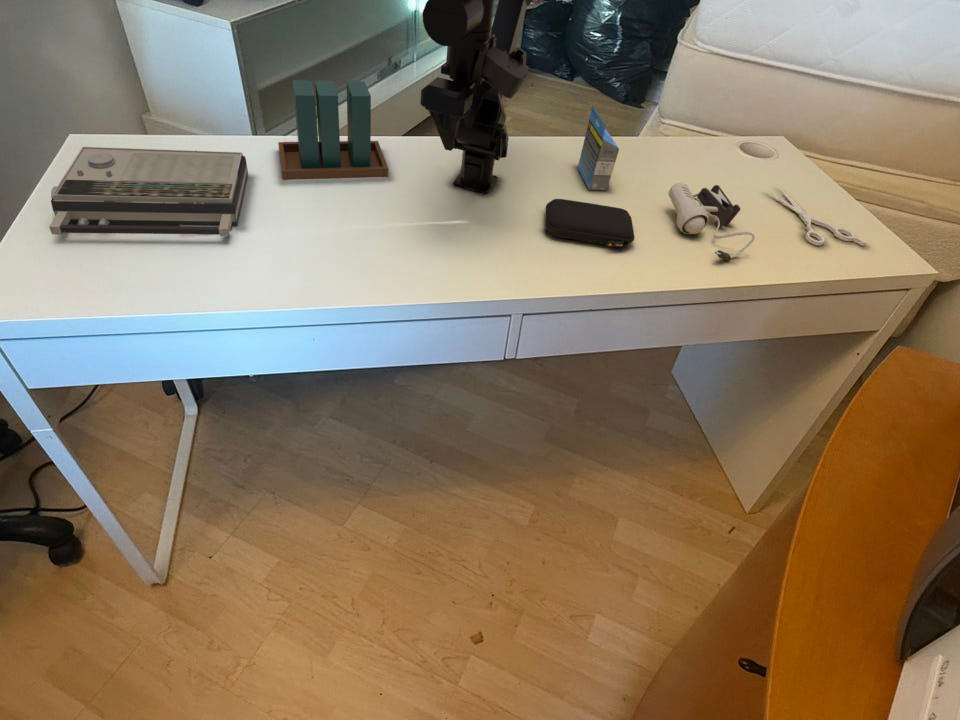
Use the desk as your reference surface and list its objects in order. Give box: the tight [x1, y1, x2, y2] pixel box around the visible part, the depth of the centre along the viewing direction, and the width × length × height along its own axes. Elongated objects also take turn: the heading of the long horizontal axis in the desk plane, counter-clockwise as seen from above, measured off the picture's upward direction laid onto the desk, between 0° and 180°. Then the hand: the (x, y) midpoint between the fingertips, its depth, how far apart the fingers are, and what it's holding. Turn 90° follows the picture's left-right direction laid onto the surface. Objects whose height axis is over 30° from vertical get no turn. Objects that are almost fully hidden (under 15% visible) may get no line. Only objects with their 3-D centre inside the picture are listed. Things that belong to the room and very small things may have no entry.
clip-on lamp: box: [668, 182, 756, 262], centre depth 105 cm, size 12×6×18 cm
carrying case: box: [544, 198, 635, 248], centre depth 102 cm, size 11×3×15 cm
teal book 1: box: [292, 79, 320, 169], centre depth 102 cm, size 3×6×13 cm, turn 16°
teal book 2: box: [314, 80, 341, 168], centre depth 103 cm, size 3×6×13 cm, turn 16°
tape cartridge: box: [577, 104, 620, 192], centre depth 112 cm, size 9×4×12 cm, turn 8°
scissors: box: [766, 188, 867, 247], centre depth 115 cm, size 11×1×20 cm
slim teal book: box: [346, 80, 372, 167], centre depth 105 cm, size 3×6×13 cm, turn 17°
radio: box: [48, 146, 249, 237], centre depth 91 cm, size 24×5×20 cm
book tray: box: [277, 140, 389, 181], centre depth 108 cm, size 18×11×2 cm, turn 106°
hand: (459, 138), depth 93 cm, fingers open, 9 cm apart
